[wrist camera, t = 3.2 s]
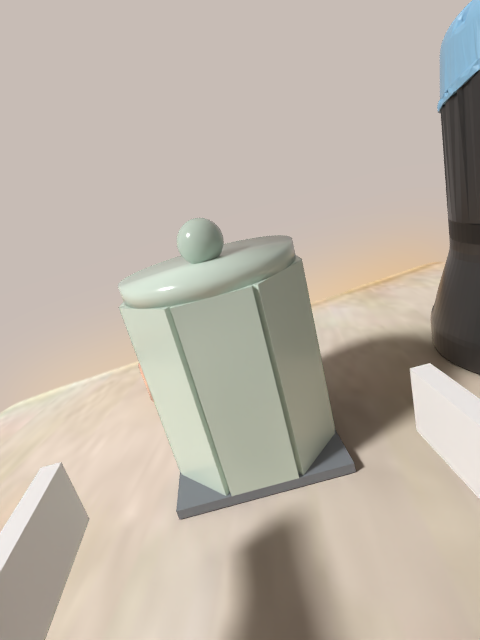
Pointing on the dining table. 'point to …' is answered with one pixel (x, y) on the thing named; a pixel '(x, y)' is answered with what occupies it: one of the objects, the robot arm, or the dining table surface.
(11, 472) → the dining table surface
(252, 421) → the lidded canister jar
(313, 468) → the mat
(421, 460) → the dining table surface
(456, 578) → the dining table surface
